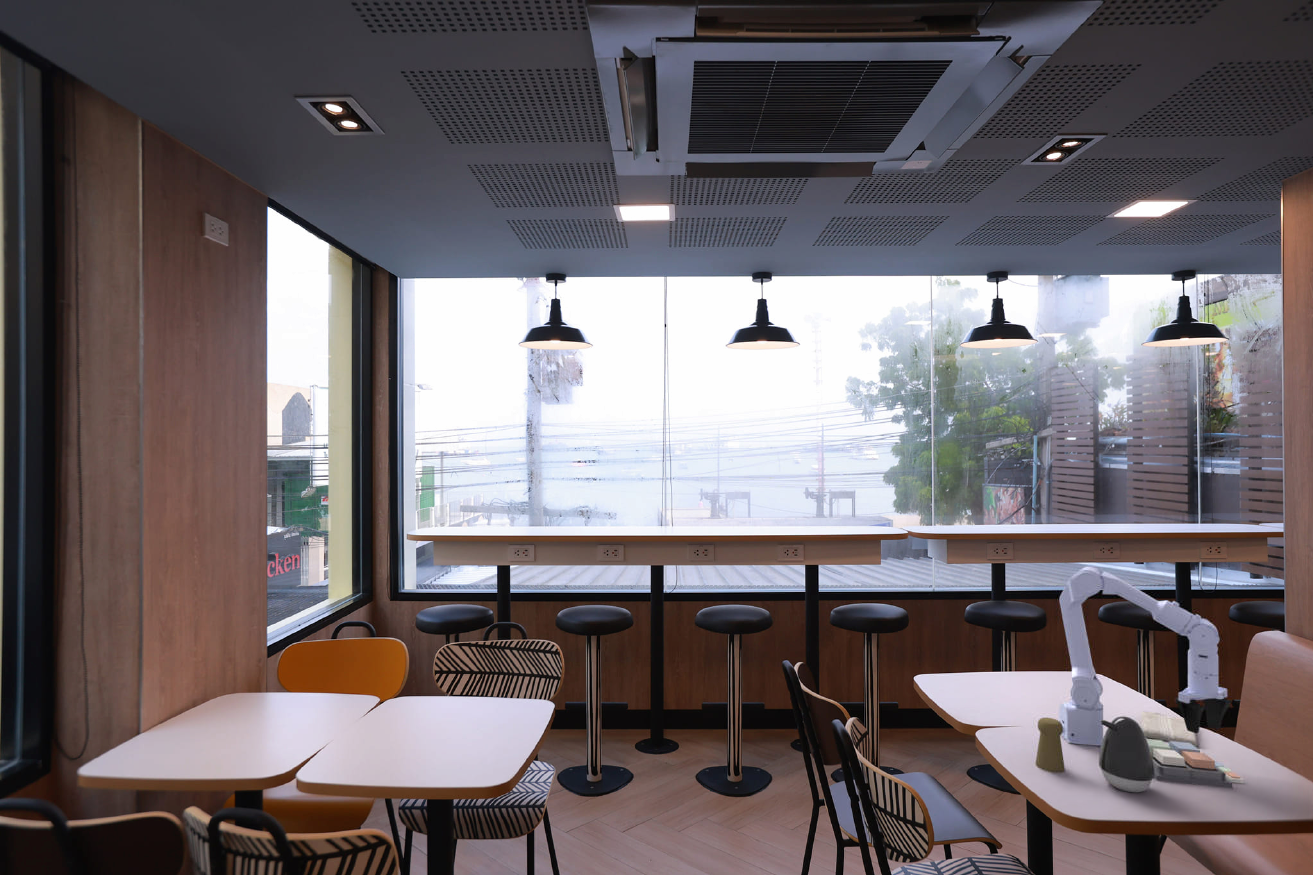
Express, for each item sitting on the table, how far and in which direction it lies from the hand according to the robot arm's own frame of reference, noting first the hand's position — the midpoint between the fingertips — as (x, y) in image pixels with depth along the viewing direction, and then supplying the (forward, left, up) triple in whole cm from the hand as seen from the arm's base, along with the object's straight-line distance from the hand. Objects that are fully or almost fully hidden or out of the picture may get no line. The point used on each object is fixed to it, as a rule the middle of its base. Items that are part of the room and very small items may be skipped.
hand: (1203, 729), depth 166 cm
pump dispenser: (-23, -17, -9) cm, 30 cm away
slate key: (-4, -1, -6) cm, 7 cm away
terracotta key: (-4, -7, -6) cm, 10 cm away
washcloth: (+3, +22, -9) cm, 24 cm away
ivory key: (-10, -7, -6) cm, 14 cm away
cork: (-36, -10, -9) cm, 39 cm away
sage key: (-10, -1, -6) cm, 12 cm away
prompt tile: (+3, -4, -8) cm, 10 cm away
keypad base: (-7, -4, -8) cm, 12 cm away
